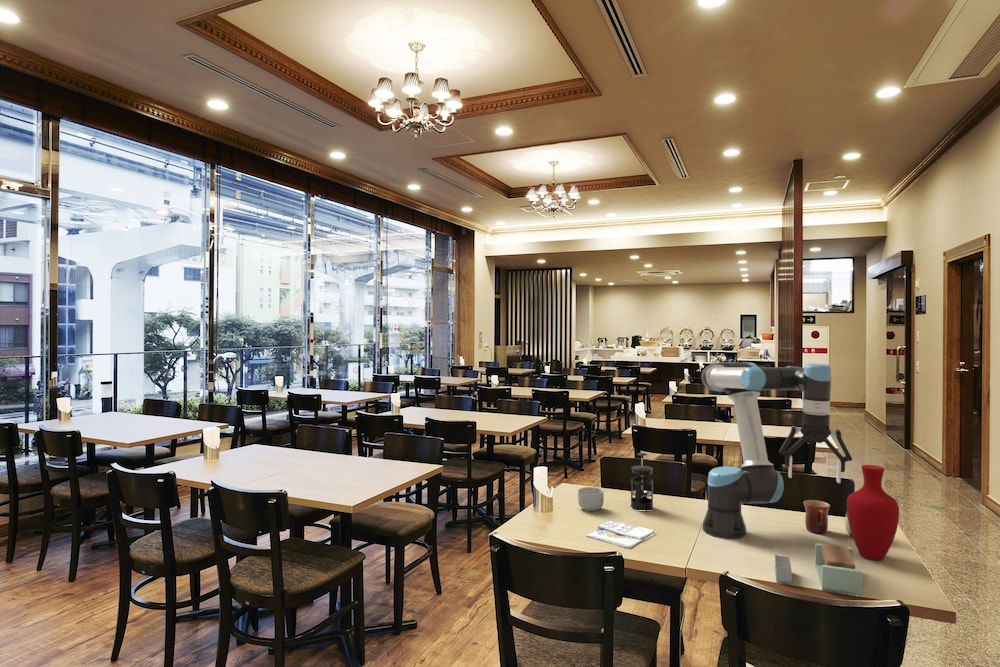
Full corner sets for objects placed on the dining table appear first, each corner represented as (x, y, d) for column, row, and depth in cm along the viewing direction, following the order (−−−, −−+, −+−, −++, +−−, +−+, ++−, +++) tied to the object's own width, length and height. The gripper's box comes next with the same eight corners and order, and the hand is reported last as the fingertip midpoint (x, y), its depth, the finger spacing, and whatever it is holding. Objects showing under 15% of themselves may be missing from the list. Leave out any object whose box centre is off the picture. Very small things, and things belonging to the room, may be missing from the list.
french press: (634, 503, 254) (635, 449, 253) (656, 506, 249) (656, 452, 249) (626, 510, 243) (626, 455, 243) (648, 514, 239) (649, 457, 238)
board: (827, 571, 172) (827, 560, 171) (821, 552, 185) (821, 543, 185) (855, 575, 169) (855, 564, 169) (847, 556, 183) (847, 546, 183)
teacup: (605, 513, 240) (605, 493, 239) (578, 513, 240) (579, 493, 240) (600, 503, 254) (600, 484, 253) (575, 502, 254) (575, 484, 254)
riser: (776, 582, 176) (776, 567, 175) (775, 569, 185) (775, 555, 185) (791, 584, 174) (791, 569, 174) (789, 571, 183) (789, 557, 183)
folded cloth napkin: (656, 535, 216) (656, 529, 216) (628, 551, 201) (628, 544, 201) (611, 523, 229) (611, 518, 229) (582, 537, 214) (582, 531, 214)
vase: (842, 545, 205) (843, 459, 204) (892, 552, 199) (893, 463, 199) (849, 561, 191) (850, 469, 191) (903, 568, 185) (904, 474, 185)
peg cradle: (822, 590, 170) (822, 566, 170) (815, 564, 188) (815, 543, 188) (862, 597, 166) (862, 572, 166) (851, 570, 184) (851, 547, 184)
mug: (800, 526, 225) (800, 499, 225) (825, 527, 223) (825, 500, 223) (810, 537, 213) (810, 509, 213) (836, 539, 211) (836, 510, 211)
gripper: (773, 411, 187) (771, 477, 188) (864, 418, 177) (861, 487, 178) (772, 408, 194) (770, 471, 195) (859, 414, 184) (857, 480, 185)
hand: (813, 479), depth 187 cm, fingers open, 13 cm apart
